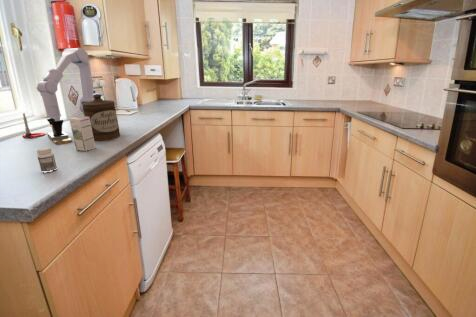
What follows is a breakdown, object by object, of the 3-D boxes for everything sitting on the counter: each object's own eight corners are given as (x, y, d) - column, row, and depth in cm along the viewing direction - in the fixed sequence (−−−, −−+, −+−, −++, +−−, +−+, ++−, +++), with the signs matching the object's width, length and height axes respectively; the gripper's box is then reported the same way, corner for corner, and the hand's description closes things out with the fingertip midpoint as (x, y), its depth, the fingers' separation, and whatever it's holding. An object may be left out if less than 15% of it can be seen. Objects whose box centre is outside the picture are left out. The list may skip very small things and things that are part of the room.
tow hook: (35, 134, 153) (20, 138, 145) (30, 111, 150) (15, 113, 141) (49, 134, 152) (35, 138, 143) (44, 111, 148) (29, 113, 140)
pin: (62, 137, 143) (58, 123, 141) (64, 139, 141) (60, 124, 138) (52, 139, 141) (49, 124, 138) (54, 140, 138) (51, 125, 135)
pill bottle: (46, 168, 101) (40, 146, 98) (59, 168, 102) (54, 146, 99) (38, 173, 97) (32, 151, 94) (52, 173, 97) (47, 150, 94)
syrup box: (96, 148, 125) (90, 116, 120) (85, 152, 120) (78, 118, 115) (86, 147, 127) (80, 115, 122) (75, 150, 122) (68, 118, 117)
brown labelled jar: (98, 143, 133) (89, 96, 126) (83, 138, 141) (74, 94, 134) (125, 136, 144) (119, 93, 137) (110, 132, 152) (103, 92, 145)
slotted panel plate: (63, 135, 149) (62, 130, 148) (72, 141, 136) (71, 137, 135) (48, 137, 145) (47, 132, 144) (55, 144, 131) (54, 139, 131)
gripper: (39, 105, 138) (46, 132, 142) (44, 108, 127) (51, 137, 132) (55, 104, 142) (61, 129, 147) (61, 107, 132) (68, 134, 136)
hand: (58, 133), depth 139 cm, fingers open, 6 cm apart
